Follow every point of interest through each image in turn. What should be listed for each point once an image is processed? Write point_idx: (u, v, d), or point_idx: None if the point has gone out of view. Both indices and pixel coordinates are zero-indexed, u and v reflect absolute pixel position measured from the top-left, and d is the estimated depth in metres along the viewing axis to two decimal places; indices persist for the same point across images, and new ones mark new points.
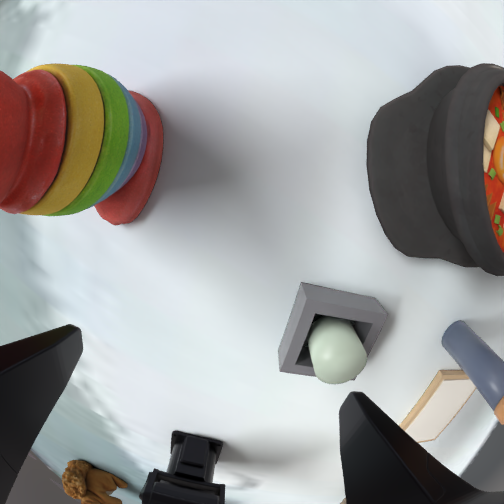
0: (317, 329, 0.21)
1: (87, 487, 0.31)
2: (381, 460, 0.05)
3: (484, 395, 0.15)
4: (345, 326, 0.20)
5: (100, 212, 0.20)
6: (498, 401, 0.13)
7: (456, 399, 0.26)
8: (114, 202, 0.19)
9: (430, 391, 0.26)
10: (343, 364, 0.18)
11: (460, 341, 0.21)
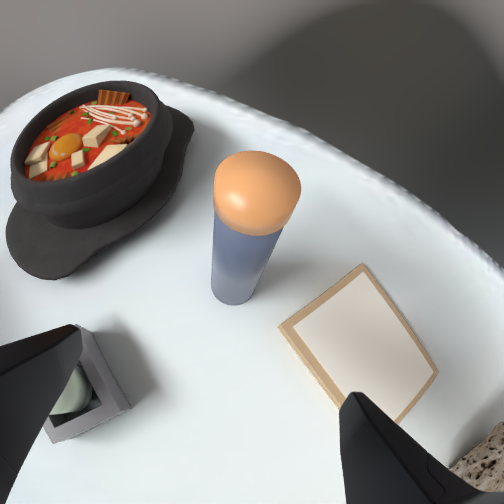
0: None
1: None
2: (381, 460, 0.05)
3: (237, 253, 0.14)
4: None
5: None
6: (223, 221, 0.13)
7: (367, 319, 0.22)
8: None
9: (300, 353, 0.21)
10: None
11: None
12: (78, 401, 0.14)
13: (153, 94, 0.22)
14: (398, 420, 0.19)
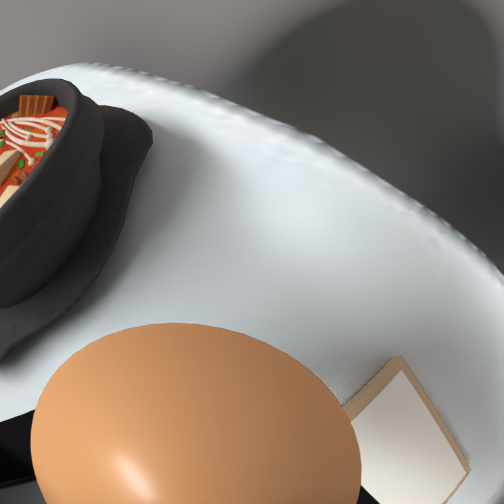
0: None
1: None
2: None
3: None
4: None
5: None
6: None
7: (399, 438, 0.12)
8: None
9: None
10: None
11: None
12: None
13: (75, 95, 0.12)
14: None
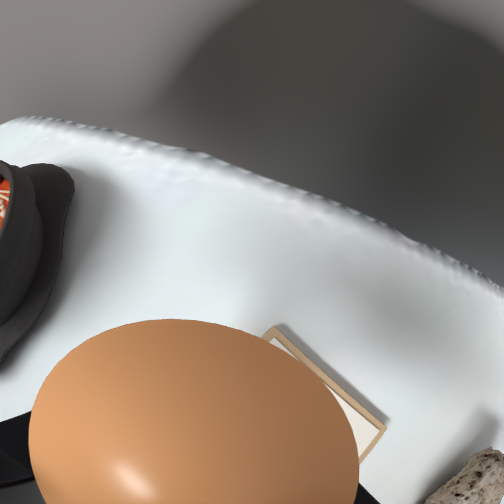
0: None
1: None
2: None
3: None
4: None
5: None
6: None
7: None
8: None
9: None
10: None
11: None
12: None
13: (12, 176, 0.16)
14: None
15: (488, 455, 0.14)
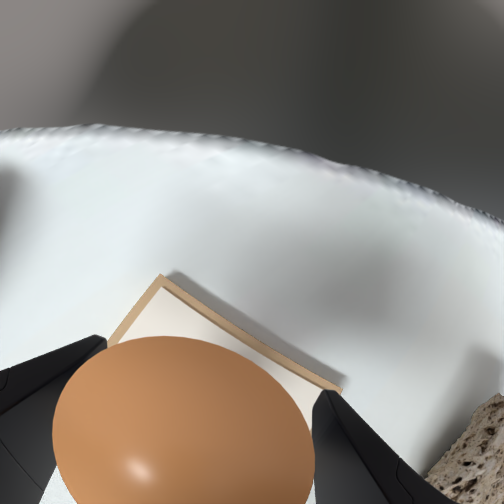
0: None
1: None
2: (348, 463, 0.05)
3: None
4: None
5: None
6: None
7: None
8: None
9: None
10: None
11: None
12: None
13: None
14: None
15: (498, 404, 0.13)
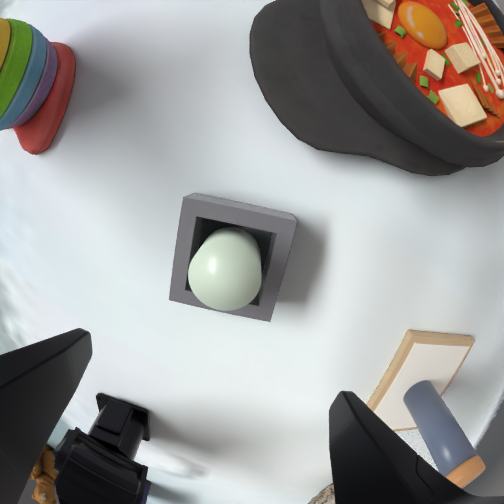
0: (205, 241, 0.18)
1: (42, 468, 0.27)
2: (369, 461, 0.05)
3: (437, 460, 0.14)
4: (235, 234, 0.17)
5: (21, 142, 0.16)
6: (452, 469, 0.12)
7: (438, 373, 0.23)
8: (29, 130, 0.16)
9: (398, 359, 0.22)
10: (227, 277, 0.15)
11: (426, 400, 0.20)
12: None
13: None
14: None
15: None
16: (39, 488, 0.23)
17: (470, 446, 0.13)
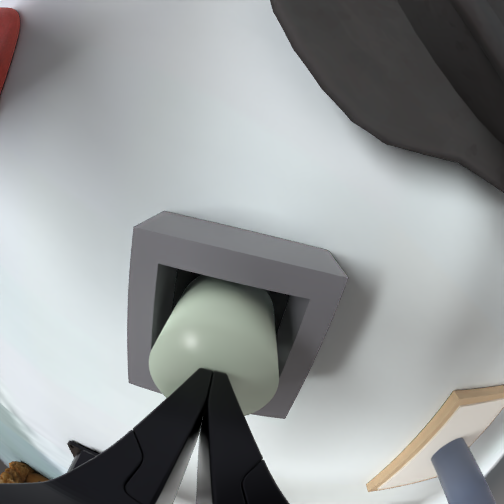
0: (182, 296, 0.10)
1: None
2: (205, 451, 0.05)
3: None
4: (233, 292, 0.09)
5: None
6: None
7: (473, 429, 0.15)
8: None
9: (437, 423, 0.14)
10: None
11: (458, 464, 0.12)
12: None
13: None
14: (395, 486, 0.18)
15: None
16: None
17: None
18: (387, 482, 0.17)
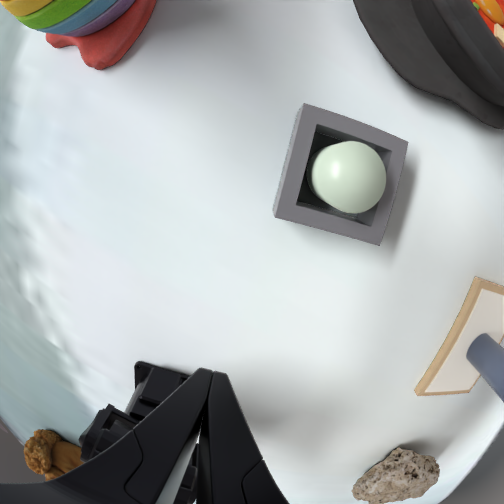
0: (318, 152, 0.17)
1: (53, 461, 0.26)
2: (206, 452, 0.05)
3: None
4: None
5: (84, 54, 0.14)
6: None
7: (495, 326, 0.21)
8: (100, 39, 0.14)
9: (468, 306, 0.20)
10: (356, 177, 0.14)
11: (492, 349, 0.18)
12: None
13: None
14: (437, 393, 0.24)
15: None
16: None
17: None
18: (433, 381, 0.23)
